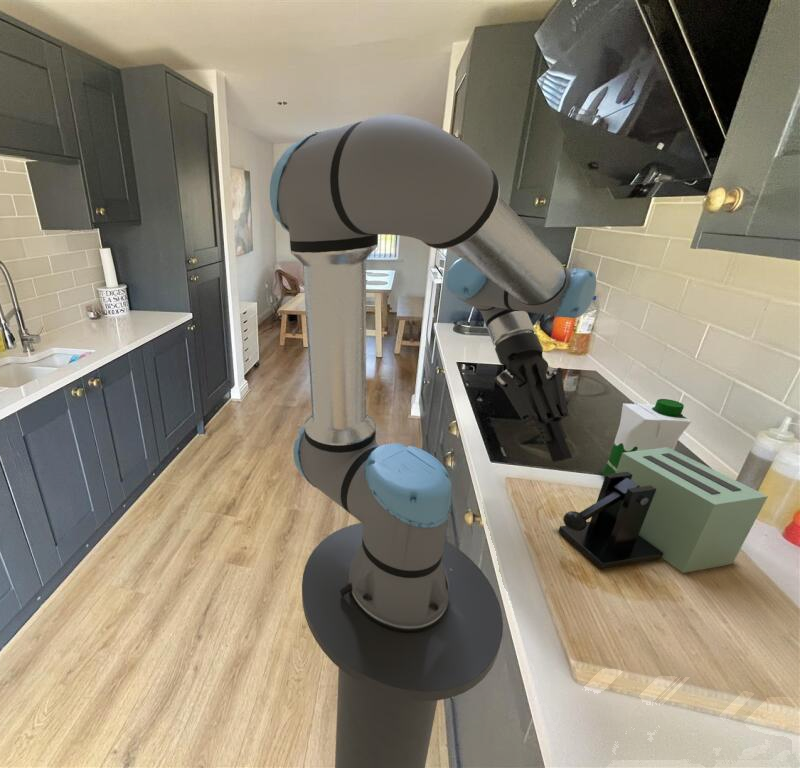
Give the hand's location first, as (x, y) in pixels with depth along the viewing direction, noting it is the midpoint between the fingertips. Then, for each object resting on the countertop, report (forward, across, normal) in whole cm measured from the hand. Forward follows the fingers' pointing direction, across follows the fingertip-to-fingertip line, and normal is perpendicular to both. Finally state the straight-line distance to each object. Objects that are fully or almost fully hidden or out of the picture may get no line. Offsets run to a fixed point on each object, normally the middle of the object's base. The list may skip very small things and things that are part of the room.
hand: (562, 459), depth 68 cm
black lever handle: (+9, -6, -3) cm, 11 cm away
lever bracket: (+15, -9, -8) cm, 19 cm away
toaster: (+15, -21, -8) cm, 27 cm away
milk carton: (+5, -29, -18) cm, 35 cm away
